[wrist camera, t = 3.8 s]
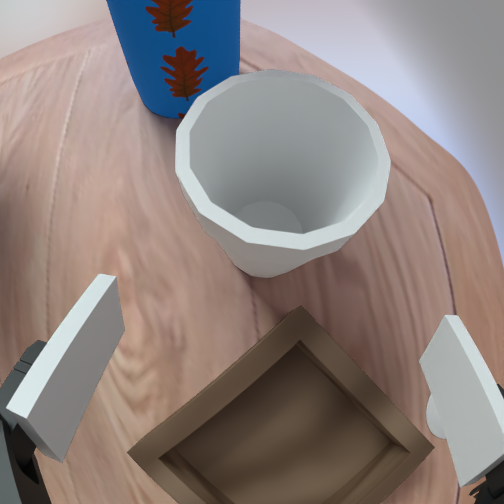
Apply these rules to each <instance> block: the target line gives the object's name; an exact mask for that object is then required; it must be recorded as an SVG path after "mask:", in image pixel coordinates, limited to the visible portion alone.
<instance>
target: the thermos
mask: <svg viewBox="0 0 504 504" xmlns="http://www.w3.org/2000/svg"><path fill="white" fill-rule="evenodd" d="M106 1H107V4H108V7H109V10H110V14H111V17H112V20H113V23H114V26H115V29H116V32H117V35H118V38H119V41H120V44H121V47H122V50H123V53H124V56H125V59H126V62H127V65H128V68H129V70H130V73H131V76H132V79H133V81H134V84H135V86H136V88H137V90H138V92H139V95H140V97H141V99H142V101H143V103H144V105H145V106H146V107H147V108H148V109H150V110H151V111H152V112H153V113H155V114H158V115H161V116H164V117H166V118H183V119H184V117H185V116H186V114H187V112H188V111H189V109H190V108H191V106H192V105H193V103H194V101H195V100H196V98H197V97H199V96H200V95H202V94H203V93H205V92H206V91H208V90H210V89H211V88H213V87H214V86H216V85H218V84H219V83H221V82H223V81H224V80H226V79H228V78H229V77H231V76H236V75H238V74H239V62H240V0H106Z"/></svg>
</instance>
